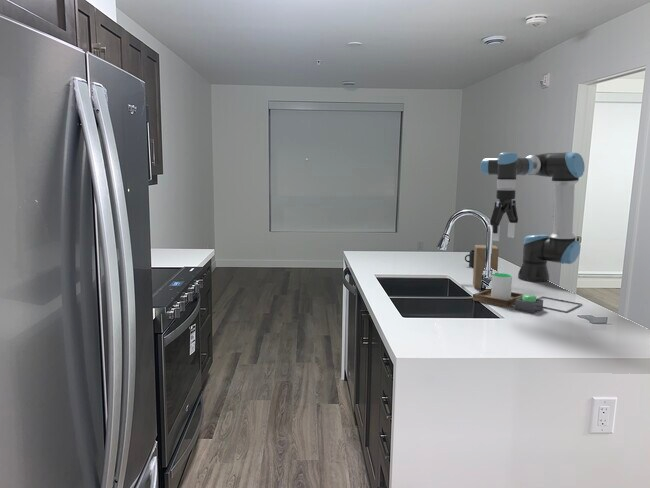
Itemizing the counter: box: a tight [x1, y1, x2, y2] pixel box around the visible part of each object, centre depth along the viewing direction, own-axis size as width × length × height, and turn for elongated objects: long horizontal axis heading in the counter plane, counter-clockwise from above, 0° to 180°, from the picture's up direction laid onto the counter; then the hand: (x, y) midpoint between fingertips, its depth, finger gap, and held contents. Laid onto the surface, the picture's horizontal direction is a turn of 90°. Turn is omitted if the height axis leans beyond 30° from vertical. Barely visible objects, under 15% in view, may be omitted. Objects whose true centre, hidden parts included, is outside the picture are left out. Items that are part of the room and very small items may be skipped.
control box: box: [514, 297, 544, 314], centre depth 201 cm, size 8×8×4 cm
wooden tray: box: [472, 288, 525, 308], centre depth 214 cm, size 16×16×3 cm
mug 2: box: [491, 272, 513, 300], centre depth 214 cm, size 12×8×10 cm
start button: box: [522, 294, 537, 303], centre depth 200 cm, size 5×5×4 cm
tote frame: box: [536, 296, 583, 313], centre depth 208 cm, size 17×17×1 cm
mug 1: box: [464, 249, 475, 269], centre depth 289 cm, size 9×12×9 cm
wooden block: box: [472, 244, 500, 290], centre depth 237 cm, size 10×10×20 cm
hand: (503, 239), depth 212 cm, fingers open, 13 cm apart
